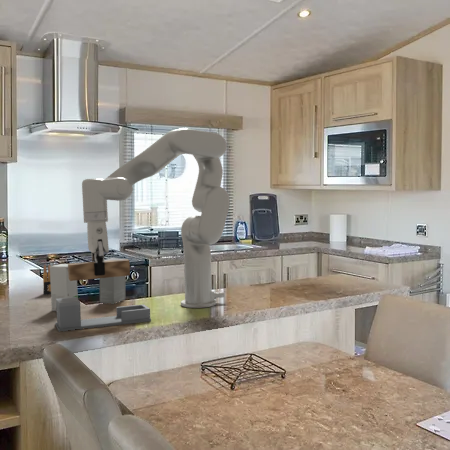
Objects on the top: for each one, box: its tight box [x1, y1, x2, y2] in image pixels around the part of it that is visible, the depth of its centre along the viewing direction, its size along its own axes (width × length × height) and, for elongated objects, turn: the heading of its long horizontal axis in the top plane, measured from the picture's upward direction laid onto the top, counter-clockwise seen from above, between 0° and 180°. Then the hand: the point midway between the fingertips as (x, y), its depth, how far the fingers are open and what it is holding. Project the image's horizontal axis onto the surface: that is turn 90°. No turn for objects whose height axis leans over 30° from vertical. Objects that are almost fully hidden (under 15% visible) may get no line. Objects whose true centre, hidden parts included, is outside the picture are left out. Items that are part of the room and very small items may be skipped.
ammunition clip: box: [42, 262, 69, 296], centre depth 225 cm, size 11×2×12 cm, turn 111°
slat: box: [68, 258, 131, 281], centre depth 180 cm, size 19×4×5 cm, turn 114°
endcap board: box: [54, 297, 152, 333], centre depth 174 cm, size 28×9×8 cm, turn 114°
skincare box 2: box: [99, 257, 126, 305], centre depth 206 cm, size 8×7×16 cm
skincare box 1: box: [50, 263, 79, 312], centre depth 195 cm, size 8×7×16 cm
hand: (98, 273), depth 180 cm, fingers closed on slat, 3 cm apart
